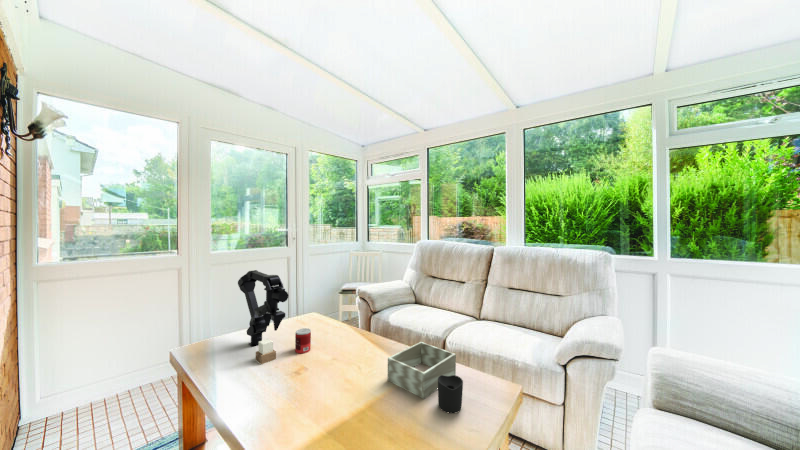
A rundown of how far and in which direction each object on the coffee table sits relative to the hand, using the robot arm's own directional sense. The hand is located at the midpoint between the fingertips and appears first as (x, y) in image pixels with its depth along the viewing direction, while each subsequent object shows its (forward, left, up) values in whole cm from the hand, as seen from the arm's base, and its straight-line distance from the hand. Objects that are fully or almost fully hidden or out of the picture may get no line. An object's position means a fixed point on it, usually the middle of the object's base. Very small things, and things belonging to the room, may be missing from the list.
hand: (271, 328), depth 157 cm
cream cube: (+9, -7, -8) cm, 14 cm away
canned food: (+13, +11, -12) cm, 21 cm away
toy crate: (+76, +33, -12) cm, 84 cm away
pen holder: (+96, +24, -12) cm, 100 cm away
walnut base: (+9, -7, -12) cm, 16 cm away
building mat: (+9, -7, -12) cm, 17 cm away
